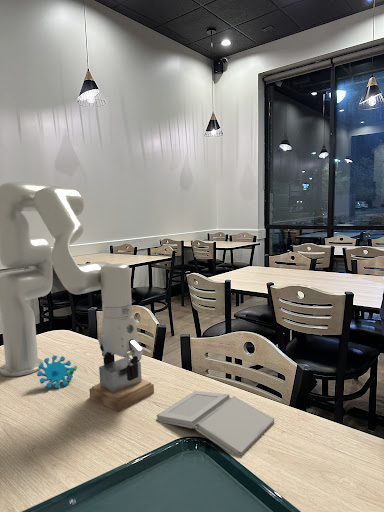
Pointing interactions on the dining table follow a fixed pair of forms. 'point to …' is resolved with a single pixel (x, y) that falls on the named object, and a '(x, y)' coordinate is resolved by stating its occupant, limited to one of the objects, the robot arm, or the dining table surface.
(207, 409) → the grey folded flat piece
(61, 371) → the gear
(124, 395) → the stand
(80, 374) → the dining table surface
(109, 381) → the grey rectangular block
